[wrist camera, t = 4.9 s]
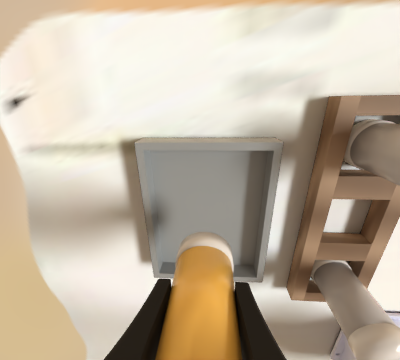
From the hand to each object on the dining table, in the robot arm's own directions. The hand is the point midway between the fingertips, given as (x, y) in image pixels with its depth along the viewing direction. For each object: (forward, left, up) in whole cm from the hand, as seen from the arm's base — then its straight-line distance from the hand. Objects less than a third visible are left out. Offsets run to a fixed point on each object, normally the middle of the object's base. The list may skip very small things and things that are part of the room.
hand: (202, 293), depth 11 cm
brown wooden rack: (0, -13, -9) cm, 15 cm away
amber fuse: (0, 0, -3) cm, 3 cm away
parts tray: (0, 0, -9) cm, 9 cm away
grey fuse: (-7, -13, -9) cm, 17 cm away
